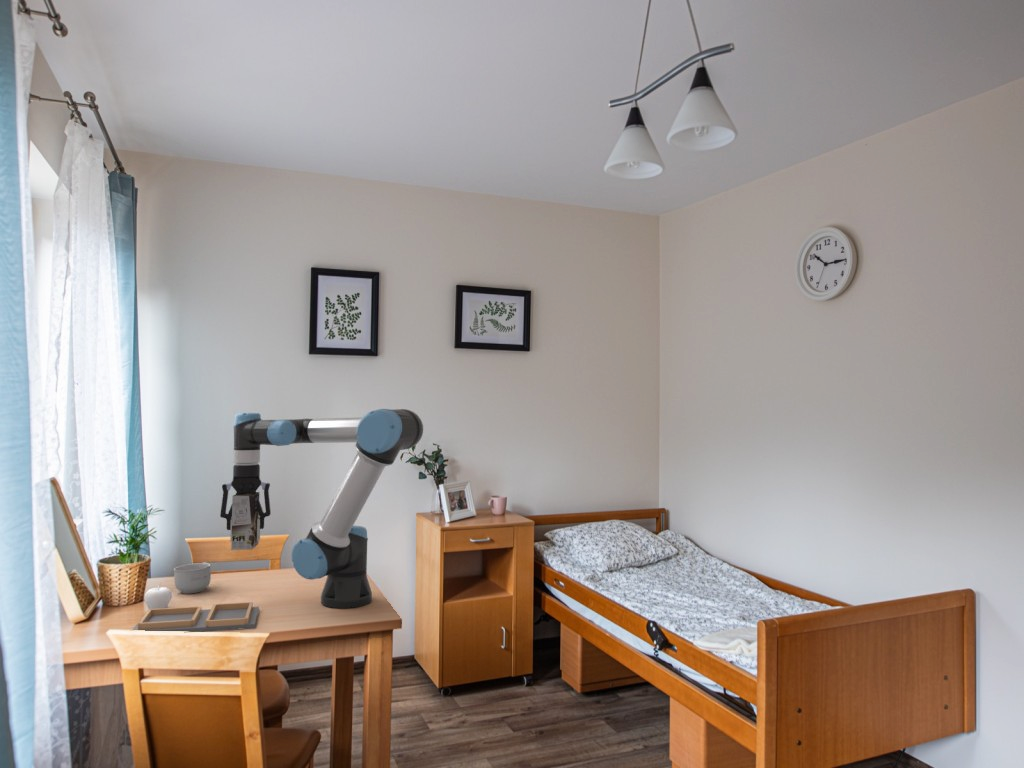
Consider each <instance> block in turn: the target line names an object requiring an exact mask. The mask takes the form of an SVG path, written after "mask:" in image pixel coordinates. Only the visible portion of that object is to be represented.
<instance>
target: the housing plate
mask: <svg viewBox="0 0 1024 768" xmlns="http://www.w3.org/2000/svg"><path fill="white" fill-rule="evenodd" d="M253 604H254V602H253V601H251V602H250V601H244V602H243V601H242V602H228V603H227V602H226V603H216V604H213V605H212V606H211V609H202V608H203V607H202V606H198V605H197V606H180V607H178V606H177V607H167V608H160V609H150V610H149V609H148V610H147V611H146V612H145V614H144V615H142V617H141V618H140V620H139V621H138V622H137V624H136V625H134V627H133V628H132V630H145V631H199V632H211V631H212V632H213V631H226V630H227V631H228V630H239V629H238V628H245V629H254V628H255V627H256V623H257V619H258V615H259V610H260V607H259V606H254V605H253Z"/></svg>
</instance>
